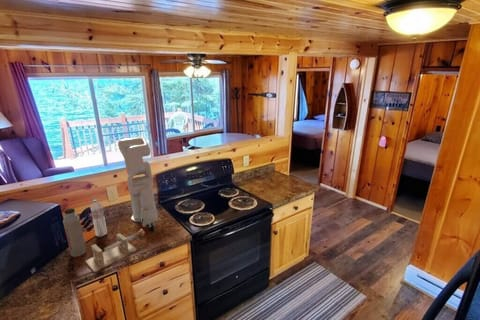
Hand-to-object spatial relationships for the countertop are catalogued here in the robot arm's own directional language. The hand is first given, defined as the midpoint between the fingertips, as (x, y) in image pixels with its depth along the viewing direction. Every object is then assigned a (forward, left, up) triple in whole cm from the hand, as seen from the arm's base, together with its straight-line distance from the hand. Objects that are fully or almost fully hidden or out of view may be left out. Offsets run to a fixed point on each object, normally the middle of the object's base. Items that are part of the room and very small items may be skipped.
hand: (151, 231), depth 167 cm
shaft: (+17, 0, 0) cm, 18 cm away
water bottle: (+20, -28, -4) cm, 35 cm away
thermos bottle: (+37, -19, -4) cm, 42 cm away
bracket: (+26, 0, -4) cm, 27 cm away
